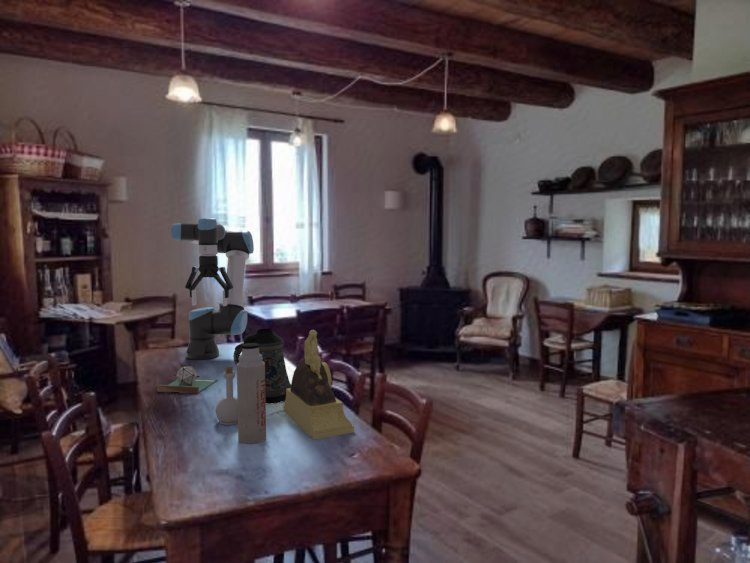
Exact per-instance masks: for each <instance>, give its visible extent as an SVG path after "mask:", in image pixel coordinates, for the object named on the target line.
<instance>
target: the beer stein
mask: <svg viewBox="0 0 750 563" xmlns="http://www.w3.org/2000/svg"><path fill="white" fill-rule="evenodd" d="M246 343H257V344H259V347H258V348H259V353H260V354H261V355H262V358H263V359H262V361H263V362H264V363H265V397H266V405H269V404H270V405H271V403H273V404H278V402H279V403H282V401H283V402H285V400H286V389H288V388H291V381H290V379H289V376H288V371H287V368H286V360H285V356H284V350H283V348H284V344H285V341H284V339H283V338H282V337H281V336H279V334H277V333H275V332H274V331H273V329H272V328H260V329H257V331H256V332H255V333H252V334H248V335H246V336H244V337H243V342H241V343H239V344H237V345H236V346H235V347H234V352H233V361H234V364H235V366H236V367H237V363H239V359H238V358H239V356H240V355H241V354H242V347H241V345H242V344H246Z"/></svg>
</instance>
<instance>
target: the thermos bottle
mask: <svg viewBox="0 0 750 563" xmlns="http://www.w3.org/2000/svg"><path fill="white" fill-rule="evenodd" d="M241 347H242V352H241V354H240V356H239V358H238V359H239V363H237V366H236V385H237V386H236V389H237V390H236V393H237V394H236V395H237V396H236V398H237V404H238V423H237V434H238V435H237V436H238V437H237V439H238V441H239V442H240V443H243V444H257V443H261V442H264V441H265V440H266V438H267V409H266V408H267V404H266V397H265V363H264V362H263V361H262V359H263V358H262V355H261V354H260V353H259V348H258V347H259V344H257V343H246V344H242V345H241Z"/></svg>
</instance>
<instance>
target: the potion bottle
mask: <svg viewBox="0 0 750 563" xmlns="http://www.w3.org/2000/svg"><path fill="white" fill-rule="evenodd" d="M224 370H225V371H224V372H223V373H222V374H223V378H224V379H225V389H226V392H225V394H226V395H225V398H221V400H219V402H218V403H217V405H216V408H215V411H214V412H215V414H216V418H217V420H218V422H220V423H219V424H220V425H222V424H223V425H224V426H233V424H235V425H238V404H237V396H236V397H234V379H235V377H236V371H235V370H234V367H233V366H227V367H225V368H224Z"/></svg>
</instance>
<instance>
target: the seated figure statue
mask: <svg viewBox="0 0 750 563" xmlns="http://www.w3.org/2000/svg"><path fill="white" fill-rule="evenodd" d="M317 335H318V332H317V331H316V330H315V329H311V330H309V333H308V337H307V338H306V339H305V342H304V348H303V349H304V357H303V358H302V359H300V360H299V361H298V364H297V366H296V367H295V370H294V371H293V374H292V378H291V381H290V384H291V388H288V389H286V400H285V401H284V405H283V413H284V412H285V413H284V414H285V415H286V416H288V417H289V418H290V419H291V420H292V421H293V422H294V423H295V424H296V425H298V426H299V428H301V429H302V430H303V431H304V432H305V433H306V434H307V435H308V436H310V438H312V440H315V441H316V440H319V439H325V438H330V437H337V436H342V435H347V434H352V433H355V426H354V425H353V423H352V422H350V420H349V419H348V418H347V416H346V414H345V411H344V407H343V406H344V405H343V404H344V403H343V402H342V400H339V399H338V398H337V397H335V393H334V391H333V390H332V382H333V381H332V374H331V368H330V366H329V365H328V364H327V363H326V362H325V361H322V359H321V357H320V355H319V354H318V348H319V347H318V346H319V345H318V338H317Z"/></svg>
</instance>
